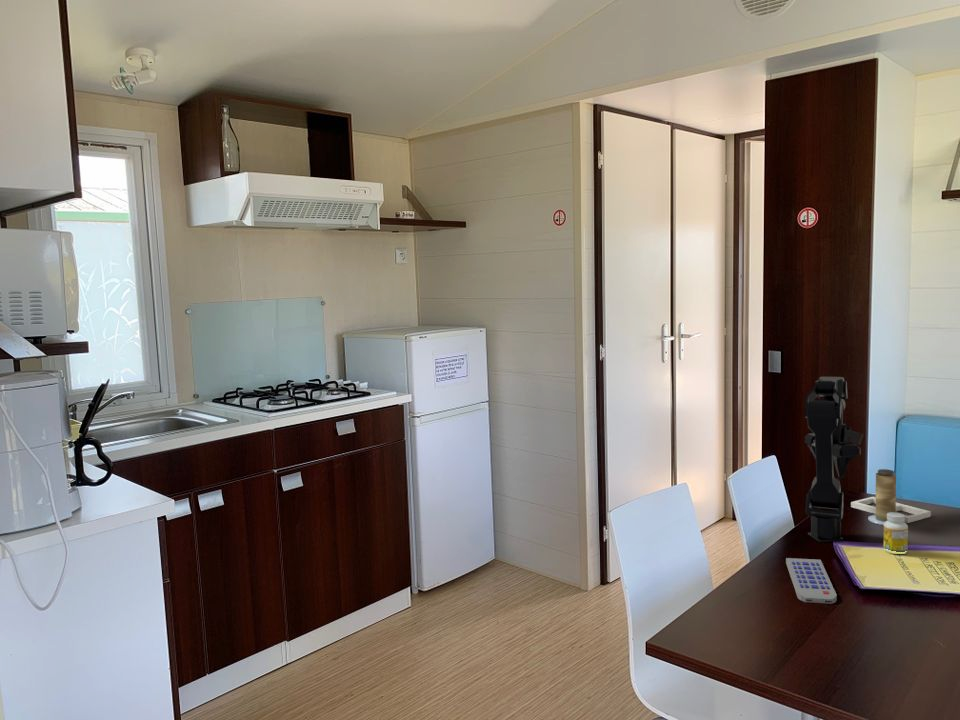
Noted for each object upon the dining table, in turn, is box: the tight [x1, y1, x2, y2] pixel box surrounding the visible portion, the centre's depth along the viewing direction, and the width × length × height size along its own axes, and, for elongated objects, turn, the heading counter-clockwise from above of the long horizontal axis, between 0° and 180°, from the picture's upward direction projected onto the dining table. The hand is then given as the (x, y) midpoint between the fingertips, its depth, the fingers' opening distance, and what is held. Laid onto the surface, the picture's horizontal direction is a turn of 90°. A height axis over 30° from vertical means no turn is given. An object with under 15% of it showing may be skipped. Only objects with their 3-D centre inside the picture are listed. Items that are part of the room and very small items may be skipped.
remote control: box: [785, 557, 838, 605], centre depth 172 cm, size 8×23×2 cm, turn 164°
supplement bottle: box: [883, 512, 909, 552], centre depth 188 cm, size 5×5×10 cm
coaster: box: [867, 514, 906, 526], centre depth 211 cm, size 9×9×1 cm
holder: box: [850, 496, 932, 524], centre depth 218 cm, size 10×18×2 cm, turn 26°
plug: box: [875, 468, 897, 522], centre depth 210 cm, size 5×5×14 cm
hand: (831, 473), depth 215 cm, fingers open, 9 cm apart
